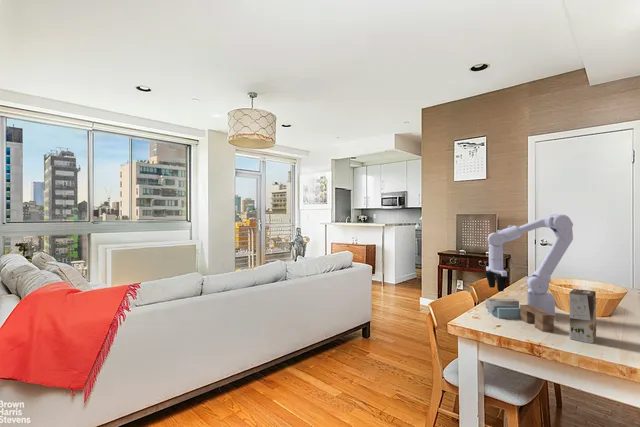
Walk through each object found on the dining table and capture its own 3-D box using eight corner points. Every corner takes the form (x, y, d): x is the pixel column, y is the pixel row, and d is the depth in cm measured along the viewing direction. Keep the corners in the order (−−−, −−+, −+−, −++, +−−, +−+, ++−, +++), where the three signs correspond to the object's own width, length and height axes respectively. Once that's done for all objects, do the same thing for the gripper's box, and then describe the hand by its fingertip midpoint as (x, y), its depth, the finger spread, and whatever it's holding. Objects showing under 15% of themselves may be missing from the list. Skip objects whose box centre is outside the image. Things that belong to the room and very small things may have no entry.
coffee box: (593, 344, 107) (592, 295, 107) (569, 339, 112) (568, 292, 112) (596, 336, 114) (595, 291, 114) (573, 332, 118) (573, 288, 118)
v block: (510, 311, 144) (510, 302, 144) (523, 318, 134) (523, 308, 134) (487, 311, 144) (487, 302, 144) (499, 318, 134) (499, 308, 134)
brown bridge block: (530, 319, 133) (529, 304, 133) (553, 331, 119) (553, 315, 119) (520, 319, 133) (520, 304, 133) (542, 331, 119) (542, 315, 119)
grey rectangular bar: (514, 307, 140) (514, 298, 140) (519, 310, 136) (519, 301, 137) (485, 307, 141) (485, 298, 141) (489, 310, 137) (489, 300, 137)
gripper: (479, 257, 154) (479, 285, 153) (495, 261, 139) (495, 293, 139) (494, 257, 153) (494, 285, 153) (511, 261, 139) (512, 293, 139)
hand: (496, 289), depth 146 cm, fingers open, 7 cm apart
